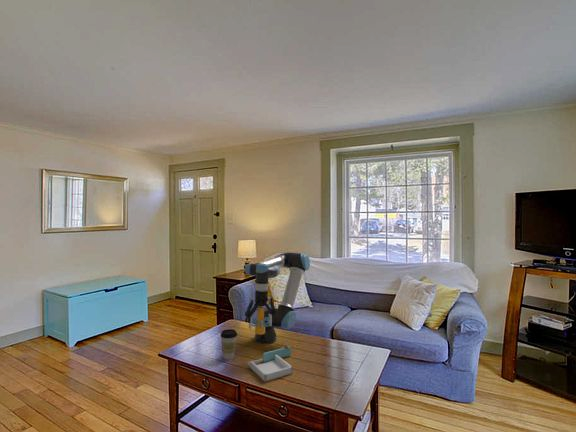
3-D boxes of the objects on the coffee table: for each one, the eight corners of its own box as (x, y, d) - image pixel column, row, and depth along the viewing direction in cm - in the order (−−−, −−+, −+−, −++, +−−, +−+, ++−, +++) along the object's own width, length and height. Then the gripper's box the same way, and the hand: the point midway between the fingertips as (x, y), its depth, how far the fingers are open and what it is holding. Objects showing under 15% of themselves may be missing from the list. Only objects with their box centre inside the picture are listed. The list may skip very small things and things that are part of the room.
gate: (288, 354, 187) (289, 344, 187) (290, 355, 185) (290, 345, 185) (262, 361, 177) (263, 350, 177) (264, 362, 176) (264, 352, 176)
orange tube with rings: (273, 331, 183) (274, 306, 183) (265, 337, 173) (266, 310, 174) (255, 328, 187) (255, 304, 188) (246, 334, 178) (247, 308, 178)
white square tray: (273, 358, 182) (273, 352, 182) (292, 373, 164) (292, 366, 164) (247, 365, 173) (247, 358, 173) (264, 381, 155) (264, 375, 155)
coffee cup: (233, 361, 176) (233, 335, 177) (217, 359, 178) (217, 334, 179) (239, 354, 186) (239, 329, 186) (224, 352, 188) (224, 328, 188)
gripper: (276, 287, 190) (275, 322, 190) (239, 290, 178) (238, 327, 177) (282, 289, 184) (281, 326, 183) (244, 293, 172) (243, 331, 171)
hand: (260, 327), depth 180 cm, fingers closed on orange tube with rings, 12 cm apart
